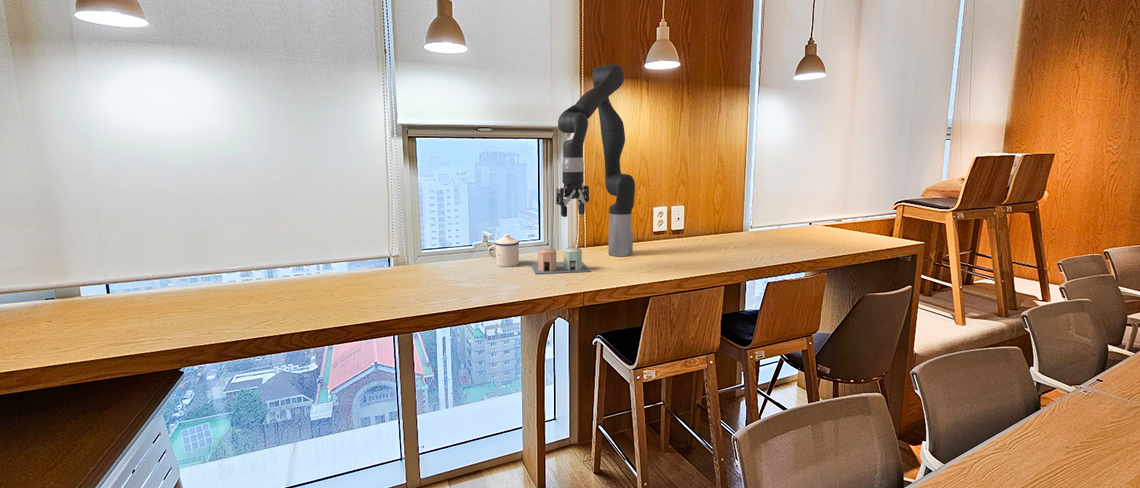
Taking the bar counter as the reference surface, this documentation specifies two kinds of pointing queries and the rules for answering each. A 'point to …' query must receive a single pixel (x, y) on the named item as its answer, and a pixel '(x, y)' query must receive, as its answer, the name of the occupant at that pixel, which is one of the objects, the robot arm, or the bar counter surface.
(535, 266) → the slate mat
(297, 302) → the bar counter surface
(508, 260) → the teacup with lid
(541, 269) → the terracotta cup
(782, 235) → the bar counter surface
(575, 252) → the green piece
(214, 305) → the bar counter surface
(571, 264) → the ivory ball
